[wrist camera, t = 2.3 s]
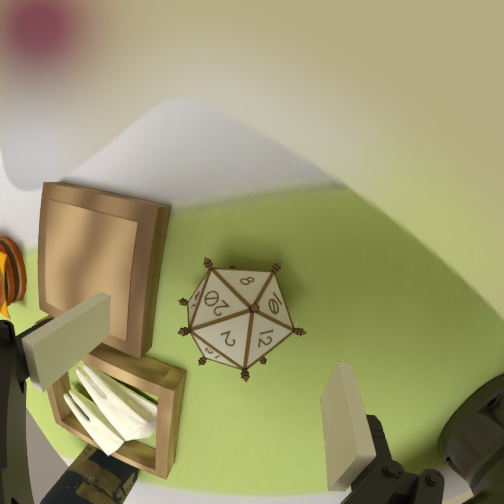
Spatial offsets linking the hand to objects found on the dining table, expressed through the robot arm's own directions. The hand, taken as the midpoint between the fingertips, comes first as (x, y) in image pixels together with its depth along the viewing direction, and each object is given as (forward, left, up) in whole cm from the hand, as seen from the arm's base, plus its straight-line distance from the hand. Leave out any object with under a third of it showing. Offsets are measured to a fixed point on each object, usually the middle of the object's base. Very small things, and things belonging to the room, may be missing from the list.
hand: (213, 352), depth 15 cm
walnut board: (+15, +1, -10) cm, 18 cm away
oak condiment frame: (+13, +18, -10) cm, 24 cm away
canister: (+14, +34, -10) cm, 38 cm away
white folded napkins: (+13, +19, -10) cm, 24 cm away
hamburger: (+32, +7, -10) cm, 34 cm away
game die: (0, 0, -10) cm, 10 cm away
